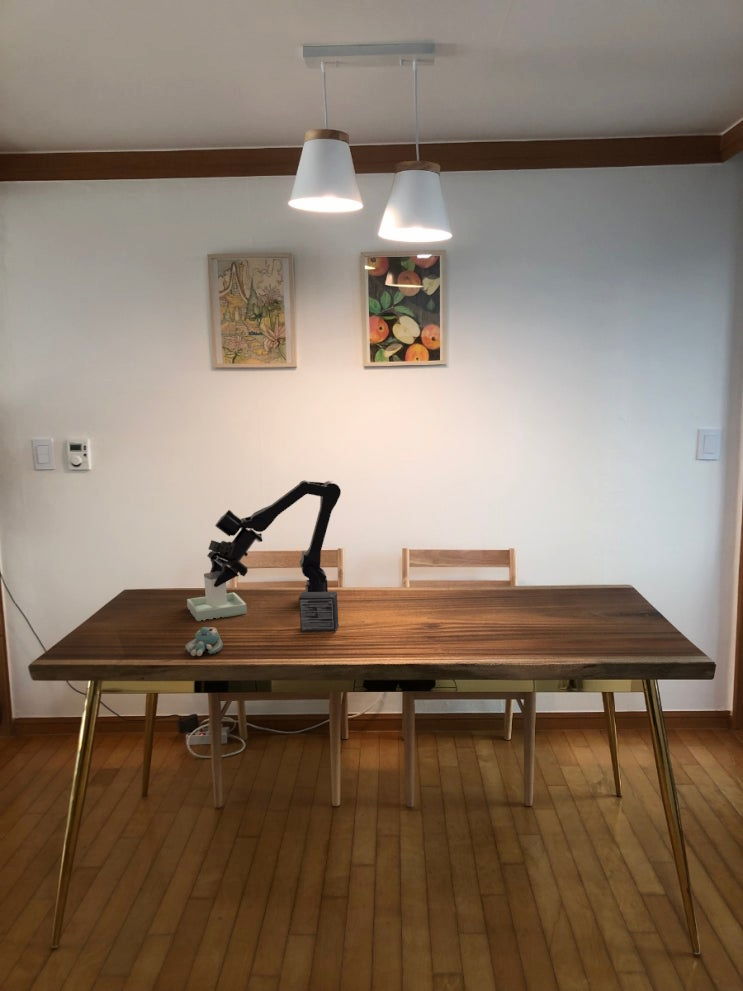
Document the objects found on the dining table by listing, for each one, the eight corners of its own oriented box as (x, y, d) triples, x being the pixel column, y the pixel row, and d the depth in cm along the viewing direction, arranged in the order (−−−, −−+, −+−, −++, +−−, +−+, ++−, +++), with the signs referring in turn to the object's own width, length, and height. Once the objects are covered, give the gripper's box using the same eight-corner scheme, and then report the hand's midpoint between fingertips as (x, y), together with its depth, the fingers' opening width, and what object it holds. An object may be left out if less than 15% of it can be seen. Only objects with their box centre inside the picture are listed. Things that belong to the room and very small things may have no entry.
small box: (339, 625, 237) (337, 590, 235) (336, 632, 230) (334, 597, 229) (304, 625, 238) (302, 591, 236) (300, 632, 231) (298, 597, 230)
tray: (235, 601, 265) (234, 592, 265) (247, 613, 251) (246, 604, 251) (187, 608, 259) (187, 599, 259) (197, 621, 245) (196, 611, 245)
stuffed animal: (174, 640, 212) (191, 618, 224) (178, 663, 215) (195, 640, 226) (212, 641, 210) (228, 619, 221) (216, 664, 213) (231, 641, 224)
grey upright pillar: (220, 600, 258) (218, 570, 257) (227, 604, 254) (225, 573, 253) (206, 604, 255) (203, 573, 254) (212, 607, 251) (210, 576, 250)
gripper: (210, 526, 261) (181, 565, 256) (236, 534, 246) (205, 576, 241) (234, 546, 267) (206, 584, 262) (260, 555, 252) (230, 596, 247)
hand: (211, 584), depth 253 cm, fingers closed on grey upright pillar, 5 cm apart
